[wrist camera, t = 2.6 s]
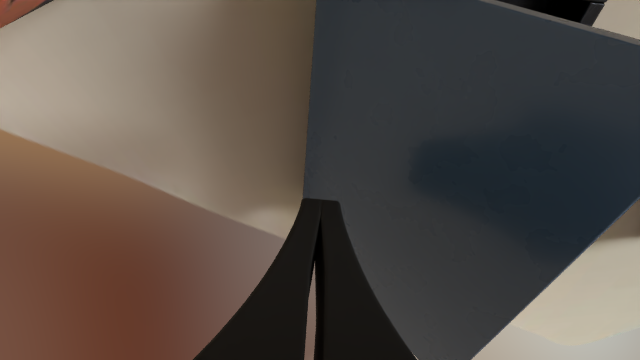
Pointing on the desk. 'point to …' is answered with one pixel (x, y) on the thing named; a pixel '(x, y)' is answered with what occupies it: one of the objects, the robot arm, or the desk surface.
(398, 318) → the cover
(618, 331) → the desk surface
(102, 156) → the desk surface
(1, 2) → the coffee cup
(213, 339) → the robot arm
